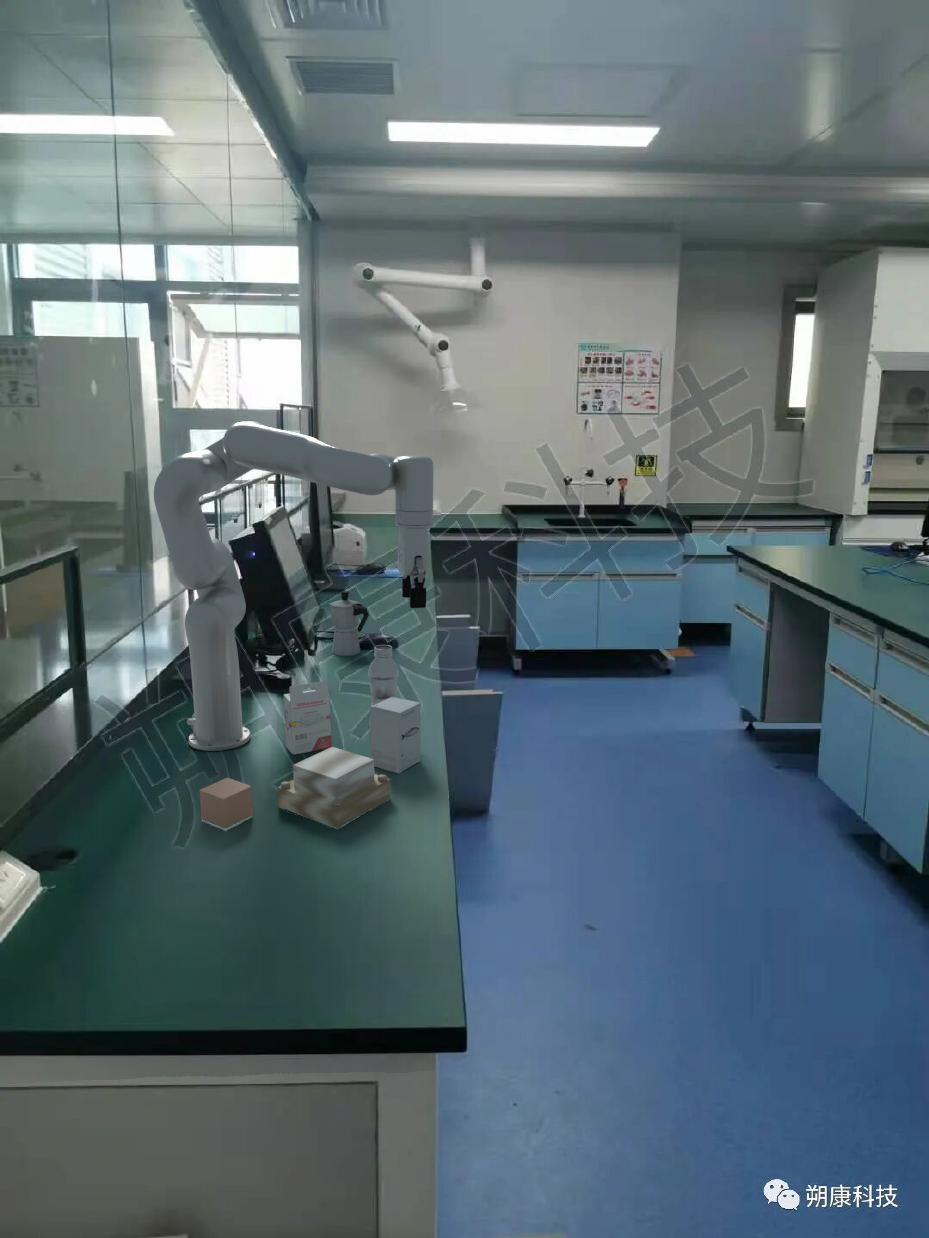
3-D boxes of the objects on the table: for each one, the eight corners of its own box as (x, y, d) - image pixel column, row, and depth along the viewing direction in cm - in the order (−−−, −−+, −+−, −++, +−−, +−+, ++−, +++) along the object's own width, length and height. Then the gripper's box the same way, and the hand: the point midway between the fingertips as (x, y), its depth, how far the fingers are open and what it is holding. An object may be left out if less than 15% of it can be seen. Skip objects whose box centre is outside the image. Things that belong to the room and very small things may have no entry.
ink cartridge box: (324, 740, 178) (322, 674, 175) (332, 748, 174) (330, 680, 170) (285, 746, 174) (282, 679, 171) (291, 755, 170) (288, 686, 167)
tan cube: (201, 822, 143) (199, 789, 141) (229, 808, 147) (227, 777, 146) (225, 832, 139) (223, 799, 138) (253, 818, 144) (251, 786, 143)
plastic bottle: (395, 743, 177) (394, 652, 172) (365, 740, 178) (363, 650, 173) (403, 732, 183) (403, 644, 178) (374, 729, 184) (372, 642, 180)
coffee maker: (319, 651, 243) (317, 591, 239) (340, 645, 250) (339, 586, 246) (358, 660, 235) (356, 598, 231) (378, 653, 242) (377, 592, 238)
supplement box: (399, 774, 162) (399, 713, 159) (369, 765, 166) (368, 705, 163) (421, 761, 168) (421, 702, 165) (392, 753, 172) (391, 695, 169)
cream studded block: (278, 808, 148) (276, 766, 146) (332, 780, 159) (331, 740, 157) (337, 830, 140) (336, 786, 138) (390, 799, 151) (389, 758, 149)
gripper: (389, 513, 174) (389, 593, 178) (402, 524, 158) (402, 612, 162) (424, 513, 176) (424, 592, 180) (441, 524, 160) (440, 611, 164)
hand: (413, 602), depth 171 cm, fingers open, 9 cm apart
